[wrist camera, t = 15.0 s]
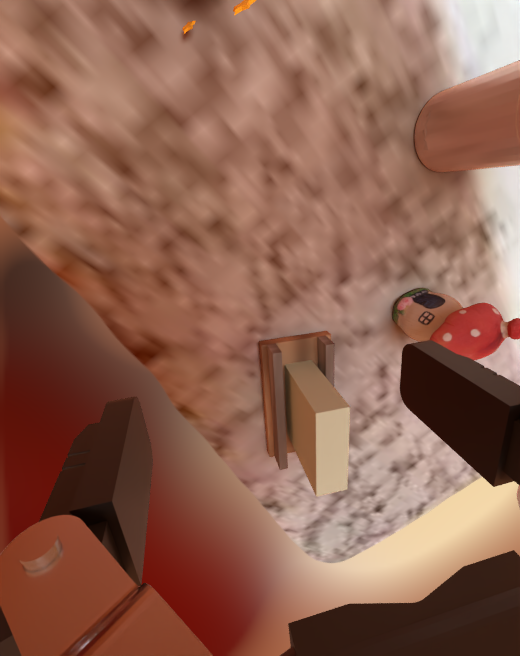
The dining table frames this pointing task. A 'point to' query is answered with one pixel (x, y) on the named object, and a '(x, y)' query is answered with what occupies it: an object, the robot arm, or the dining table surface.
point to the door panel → (317, 426)
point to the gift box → (242, 6)
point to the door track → (274, 386)
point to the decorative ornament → (453, 323)
